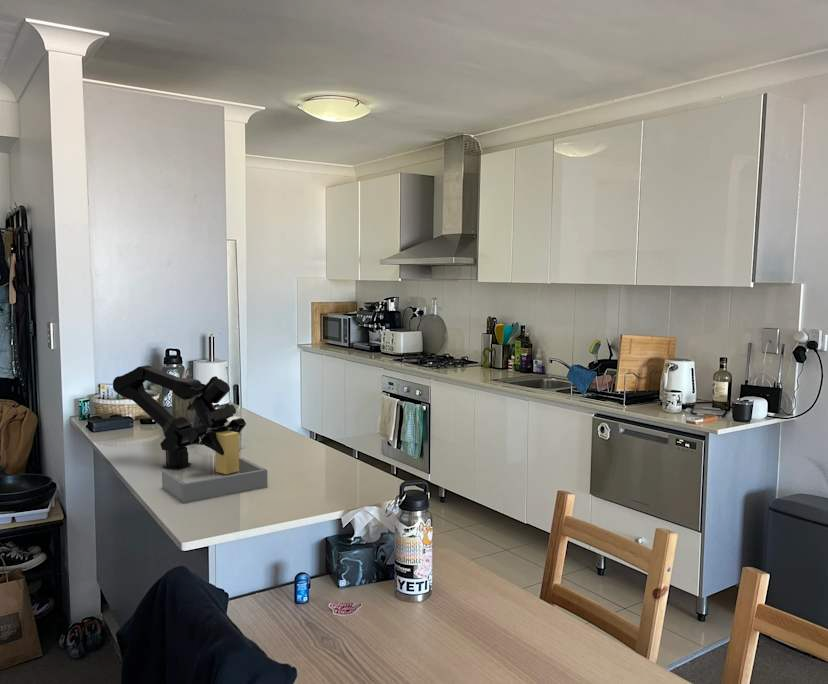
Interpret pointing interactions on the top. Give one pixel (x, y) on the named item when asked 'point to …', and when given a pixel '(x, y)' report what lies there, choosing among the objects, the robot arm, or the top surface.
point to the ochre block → (228, 452)
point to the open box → (216, 483)
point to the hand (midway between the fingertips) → (230, 452)
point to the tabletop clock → (182, 405)
